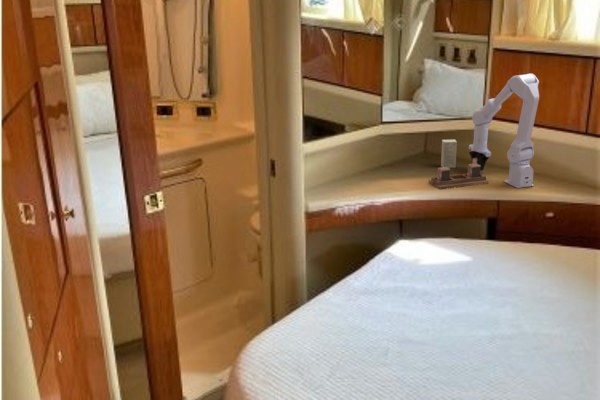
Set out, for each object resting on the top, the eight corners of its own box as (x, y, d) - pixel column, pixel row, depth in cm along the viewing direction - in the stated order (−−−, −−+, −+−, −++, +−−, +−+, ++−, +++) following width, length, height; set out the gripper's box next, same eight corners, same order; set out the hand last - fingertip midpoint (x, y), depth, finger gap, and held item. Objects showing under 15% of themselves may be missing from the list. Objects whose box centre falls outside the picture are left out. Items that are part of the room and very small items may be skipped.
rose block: (484, 172, 256) (485, 159, 254) (476, 173, 255) (477, 160, 253) (479, 170, 259) (480, 157, 257) (471, 171, 258) (472, 158, 256)
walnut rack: (488, 183, 242) (489, 167, 239) (440, 189, 236) (441, 172, 234) (475, 176, 251) (476, 161, 248) (428, 182, 245) (429, 166, 243)
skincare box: (454, 165, 268) (455, 139, 264) (455, 167, 264) (457, 141, 260) (440, 165, 269) (441, 139, 265) (441, 167, 265) (443, 141, 260)
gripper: (463, 135, 258) (461, 165, 262) (481, 143, 245) (479, 174, 249) (477, 134, 260) (475, 163, 264) (496, 141, 247) (493, 172, 251)
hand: (478, 168), depth 257 cm, fingers closed on rose block, 3 cm apart
